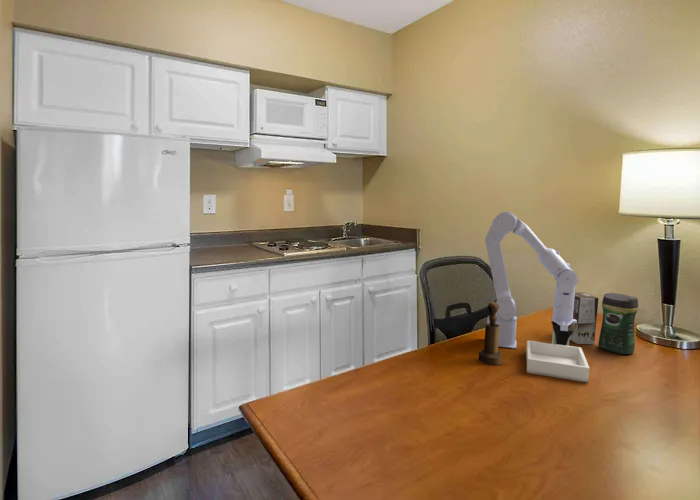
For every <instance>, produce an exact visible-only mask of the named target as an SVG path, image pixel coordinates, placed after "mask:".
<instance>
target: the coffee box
mask: <svg viewBox="0 0 700 500" xmlns="http://www.w3.org/2000/svg"><path fill="white" fill-rule="evenodd" d="M599 299H600V298H599V297H598V296H594V295H592V294H589V293H586V292H578V291H577V292H575V298H574V310H573V319H575V320H577V323H572V324H571V326H570V327H569V329H573V333H572V334H571V335H570V341H571V342H573V343H574V344H576V345H595V341H596V330H597V317H598V309H599Z"/></svg>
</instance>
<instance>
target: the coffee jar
mask: <svg viewBox="0 0 700 500" xmlns="http://www.w3.org/2000/svg"><path fill="white" fill-rule="evenodd" d="M638 300H639V299H638V297H637V296H631V295H629V294H628V295H627V294H623V293H617V292H608V293H605V294H604V295H603V297H602V302H601V307H602V308H601V309H602V319H601V320H602V322H601V325H600V332H599V337H598V347H599V348H600V349H602V350H605V351H608V352H612V353H615V354H620V355H630V354H631V355H632V354H634V353H635V347H636V346H635V344H636V342H635V340H636V339H635V319H636V315H637V313H638V311H639V301H638Z"/></svg>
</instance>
